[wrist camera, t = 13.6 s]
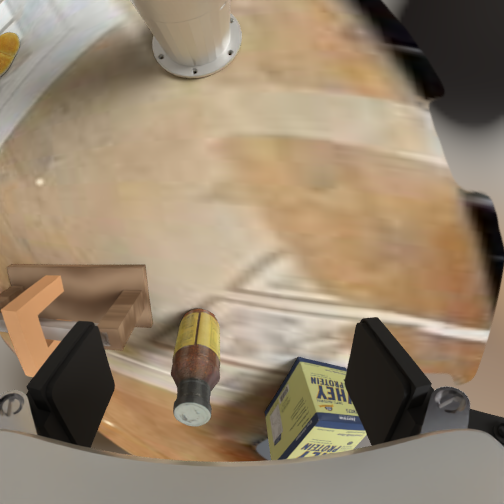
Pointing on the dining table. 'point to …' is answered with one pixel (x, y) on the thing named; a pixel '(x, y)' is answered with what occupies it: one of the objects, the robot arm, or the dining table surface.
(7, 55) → the bread roll
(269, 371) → the dining table surface
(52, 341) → the wooden arch block
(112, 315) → the rail stand
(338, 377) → the protein box
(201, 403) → the sauce bottle
